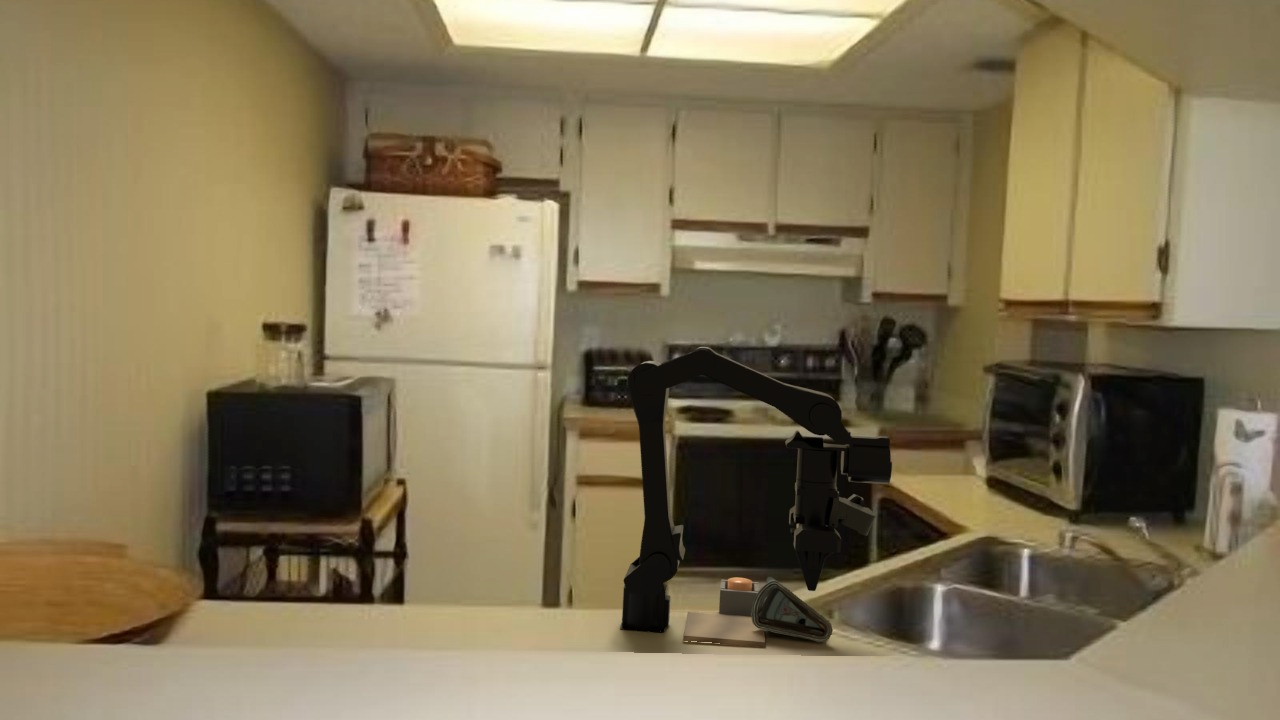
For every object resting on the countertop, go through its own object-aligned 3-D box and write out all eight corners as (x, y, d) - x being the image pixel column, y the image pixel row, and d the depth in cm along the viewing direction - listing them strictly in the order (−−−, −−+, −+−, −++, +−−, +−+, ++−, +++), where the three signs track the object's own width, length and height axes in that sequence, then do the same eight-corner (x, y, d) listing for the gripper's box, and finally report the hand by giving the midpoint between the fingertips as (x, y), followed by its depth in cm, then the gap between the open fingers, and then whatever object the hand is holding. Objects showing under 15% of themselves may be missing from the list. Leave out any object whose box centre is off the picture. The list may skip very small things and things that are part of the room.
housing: (718, 615, 151) (720, 590, 151) (719, 603, 157) (721, 579, 157) (757, 618, 150) (759, 593, 150) (757, 606, 156) (758, 582, 156)
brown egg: (726, 611, 152) (727, 583, 152) (726, 603, 156) (728, 576, 155) (750, 613, 152) (752, 585, 151) (750, 605, 155) (752, 578, 155)
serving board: (682, 642, 138) (683, 635, 138) (687, 618, 149) (687, 611, 149) (764, 649, 137) (764, 642, 137) (763, 624, 148) (763, 617, 148)
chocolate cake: (842, 634, 145) (795, 566, 150) (837, 633, 138) (789, 561, 143) (789, 670, 145) (745, 601, 150) (782, 670, 139) (736, 598, 144)
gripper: (881, 495, 131) (875, 609, 132) (864, 472, 150) (859, 572, 151) (798, 490, 132) (792, 603, 133) (791, 468, 151) (786, 567, 152)
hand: (810, 585), depth 142 cm, fingers open, 5 cm apart
